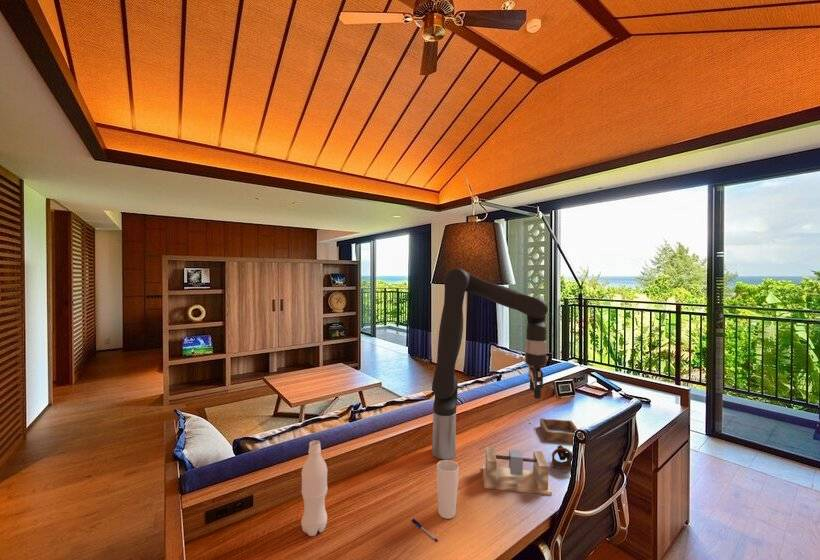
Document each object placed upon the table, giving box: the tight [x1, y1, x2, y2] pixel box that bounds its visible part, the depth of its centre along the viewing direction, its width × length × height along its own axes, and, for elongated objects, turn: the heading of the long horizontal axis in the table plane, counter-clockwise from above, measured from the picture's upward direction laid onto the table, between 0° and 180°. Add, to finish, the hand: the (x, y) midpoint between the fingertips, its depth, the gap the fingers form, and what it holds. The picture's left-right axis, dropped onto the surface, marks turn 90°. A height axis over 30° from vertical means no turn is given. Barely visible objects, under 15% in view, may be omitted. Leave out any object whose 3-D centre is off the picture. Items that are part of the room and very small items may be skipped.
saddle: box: [508, 449, 524, 476], centre depth 124 cm, size 4×5×6 cm
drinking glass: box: [435, 459, 460, 520], centre depth 107 cm, size 7×7×15 cm
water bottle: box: [300, 439, 329, 537], centre depth 100 cm, size 7×7×25 cm
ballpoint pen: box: [411, 518, 439, 542], centre depth 100 cm, size 10×1×1 cm, turn 42°
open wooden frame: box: [539, 418, 579, 444], centre depth 160 cm, size 14×14×4 cm
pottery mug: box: [551, 444, 573, 470], centre depth 134 cm, size 12×10×8 cm
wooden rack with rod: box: [482, 446, 553, 496], centre depth 124 cm, size 22×12×9 cm, turn 81°
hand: (534, 394), depth 132 cm, fingers open, 8 cm apart
